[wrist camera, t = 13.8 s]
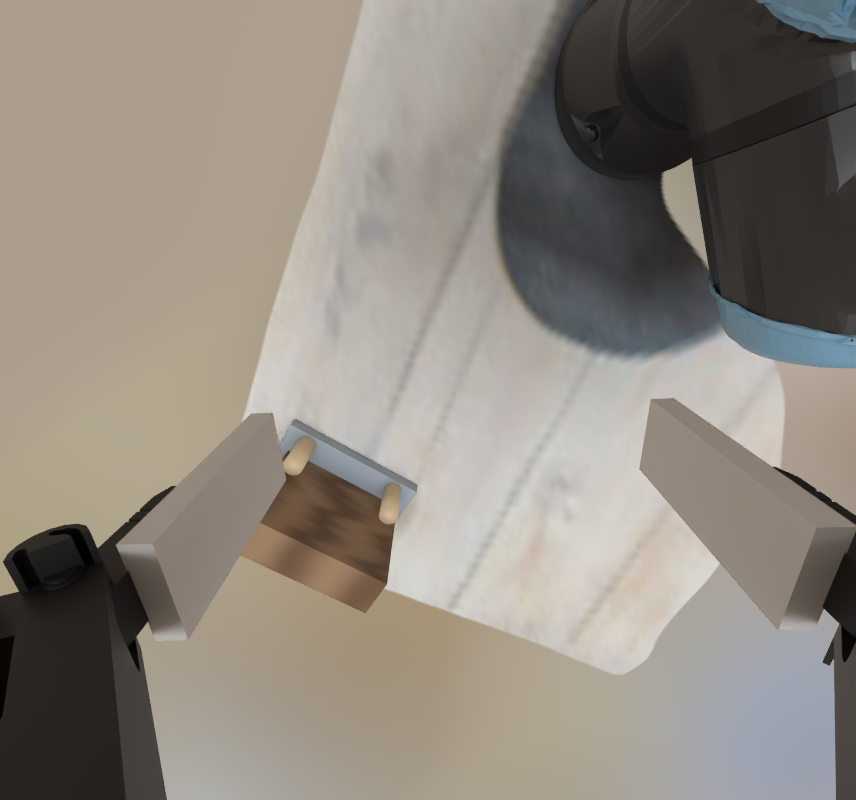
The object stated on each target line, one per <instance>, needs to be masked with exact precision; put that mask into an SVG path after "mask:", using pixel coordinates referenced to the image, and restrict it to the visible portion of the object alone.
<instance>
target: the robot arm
mask: <svg viewBox="0 0 856 800" xmlns="http://www.w3.org/2000/svg"><path fill="white" fill-rule="evenodd" d="M555 102H556V110H557V116H558V120H559V123H560V126H561V129H562V132H563V134H564V136H565V138H566V140H567V142H568V144H569V146H570V147H571V149H572V150H573V151H574V153H575V154H576V155H577V156H578V157H579V158H580V159H581V160H582V161H583V162H584V163H585V164H586V165H587V166H589V167H590V168H592V169H593V170H595V171H597V172H599V173H601V174H603V175H606V176H609V177H613V178H618V179H640V178H645V177H649V176H653V175H656V174H659V173H661V172H664V171H667V170H669V169H672V168H674V167H676V166H678V165H680V164H682V163H684V162H685V161H687V160H689V159H690V158H691V157H692V162H693V172H694V178H695V184H696V190H697V197H698V203H699V209H700V215H701V222H702V228H703V234H704V240H705V247H706V253H707V259H708V265H709V272H710V276H709V278H708V283H709V288H710V290H711V292H712V294H713V295H714V296H715V298H716V302H717V307H718V311H719V315H720V320H721V324H722V327H723V329H724V331H725V332H726V334H727V335H728V336H729V337H730V338H731V339H733V340H734V341H736V342H737V343H738V344H739V345H740V346H741V347H742V348H744V349H746V350H748V351H750V352H752V353H754V354H757V355H759V356H762V357H765V358H769V359H772V360H776V361H781V362H785V363H791V364H797V365H805V366H814V367H827V368H856V0H589V2H588V3H587V4H586V6H585V7H584V9H583V11H582V12H581V14H580V15H579V17H578V18H577V20H576V22H575V23H574V25H573V27H572V29H571V30H570V32H569V34H568V37H567V39H566V41H565V44H564V46H563V49H562V52H561V55H560V59H559V63H558V68H557V73H556V82H555ZM639 469H640V470H641V471H642V473H643V474H644V475H645V476H646V477H647V478H648V480H649V481H650V482H651V483H652V484H653V485H654V487H655V488H656V489H657V490H658V491H659V492H660V494H661V495H662V496H663V497H664V498H665V499H666V501H667V502H668V503H669V504H670V505H671V506H672V508H673V509H674V510H675V511H676V512H677V513H678V515H679V516H680V517H681V518H682V519H683V520H684V522H685V523H686V524H687V525H688V526H689V527H690V529H691V530H692V531H693V532H694V533H695V534H696V536H697V537H698V538H699V539H700V540H701V541H702V542H703V544H704V545H705V546H706V547H707V548H708V549H709V551H710V552H711V553H712V554H713V555H714V556H715V558H716V559H717V560H718V561H719V562H720V563H721V565H722V566H723V567H724V568H725V569H726V570H727V572H728V573H729V574H730V575H731V576H732V577H733V579H734V580H735V581H736V582H737V583H738V584H739V586H740V587H741V588H742V589H743V590H744V591H745V593H746V594H747V595H748V596H749V597H750V598H751V600H752V601H753V602H754V603H755V604H756V605H757V606H758V608H759V609H760V610H761V611H762V612H763V613H764V615H765V616H766V617H767V618H768V619H769V621H771V623H772V624H773V625H774V626H775V628H776V629H777V630H778V631H788V630H815V628H816V626H817V623H818V621H819V618H820V616H821V614H822V611H823V609H825V610H826V611H827V612H828V613H829V614H830V615H831V616H832V617H833V618H834V619H835V620H836V621H837V622H839V627H838V629H837V631H836V633H835V635H834V638H833V640H832V642H831V644H830V647H829V649H828V651H827V653H826V656H825V658H824V660H823V663H825V664H827V665H830V663H831V662H832V660H833V659H834V679H835V680H834V684H835V751H836V752H835V753H836V800H856V516H855V515H854V514H852V513H851V512H849V511H848V510H846V509H845V508H844V507H842V506H841V505H839V504H838V503H836V502H832V501H831V499H830V498H829V497H827V496H826V495H824V494H823V493H821V492H817V491H816V489H815V488H814V487H812V486H811V485H809V484H808V483H807V482H805V481H803V480H802V479H801V478H799V477H797V476H795V475H793V474H790V473H788V472H786V471H783V470H781V469H779V468H777V467H772V466H770V465H769V464H767V463H766V462H764V461H763V460H762V459H760V458H759V457H757V456H756V455H754V454H753V453H751V452H750V451H749V450H747V449H746V448H744V447H743V446H741V445H740V444H739V443H737V442H736V441H734V440H733V439H731V438H730V437H729V436H727V435H726V434H724V433H723V432H721V431H720V430H718V429H717V428H716V427H714V426H713V425H711V424H710V423H708V422H707V421H706V420H704V419H703V418H701V417H700V416H698V415H697V414H696V413H694V412H693V411H691V410H690V409H688V408H687V407H686V406H684V405H683V404H681V403H680V402H678V401H677V400H675V399H674V398H670V399H651V402H650V408H649V414H648V420H647V426H646V432H645V438H644V444H643V450H642V456H641V462H640V468H639ZM285 481H286V475H285V471H284V466H283V461H282V456H281V451H280V446H279V442H278V437H277V432H276V427H275V422H274V417H273V413H258V414H251V415H249V416H248V417H247V418H246V419H245V420H244V421H243V422H242V423H241V424H240V425H239V426H238V427H237V428H236V429H235V430H234V431H233V432H232V433H231V434H230V435H229V436H228V437H227V438H226V439H225V440H224V441H223V442H222V443H221V444H220V445H219V446H218V447H216V449H214V450H213V451H212V452H211V453H210V454H209V455H208V456H207V457H206V458H205V459H204V460H203V461H202V462H201V463H200V464H199V465H198V466H197V467H196V468H195V469H194V470H193V471H192V472H191V473H190V474H189V475H188V476H187V477H186V478H185V479H183V480H182V481H181V482H180V483H179V484H178V485H177V486H171V487H169V488H168V489H166V490H164V491H163V492H161V493H159V494H158V495H156V496H154V497H153V498H152V499H151V500H150V501H148V502H147V503H146V504H145V505H144V506H143V507H142V508H141V509H140V512H137V513H135V514H134V515H133V516H132V517H131V518H130V519H129V522H126V523H125V524H124V525H123V526H122V527H120V528H119V529H118V530H117V531H116V532H115V533H114V534H113V535H112V536H111V537H110V538H109V539H108V540H107V541H105V542H104V543H103V544H102V545H101V546H100V547H99V548H98V549H97V547H96V545H95V542H94V540H93V537H92V535H91V533H90V531H89V529H88V528H87V526H85V525H80V524H71V525H63V526H60V527H56V528H53V529H49V530H47V531H44V532H42V533H39V534H37V535H35V536H33V537H31V538H29V539H27V540H26V541H24V542H23V543H21V544H19V545H18V546H16V547H15V548H14V549H13V550H12V551H10V553H8V554H7V556H6V558H5V560H4V561H3V563H4V565H5V567H6V568H7V570H8V572H9V574H10V576H11V577H12V579H13V581H14V583H15V585H16V586H17V588H18V590H19V592H16V593H12V594H8V595H4V596H0V800H167V798H166V792H165V787H164V780H163V775H162V769H161V763H160V757H159V751H158V745H157V740H156V734H155V728H154V723H153V716H152V710H151V704H150V699H149V693H148V687H147V681H146V675H145V669H144V663H143V658H142V652H141V647H140V645H139V643H138V640H137V638H136V637H137V635H138V634H139V632H140V631H141V630H142V629H143V627H144V626H145V624H146V623H147V622H148V623H149V626H150V628H151V631H152V633H153V635H154V638H155V640H188V639H189V637H190V636H191V634H192V633H193V631H194V629H195V628H196V626H197V624H198V623H199V621H200V620H201V618H202V616H203V614H204V613H205V611H206V610H207V608H208V606H209V605H210V603H211V602H212V600H213V598H214V597H215V595H216V593H217V592H218V590H219V589H220V587H221V585H222V584H223V582H224V580H225V579H226V577H227V576H228V574H229V572H230V571H231V569H232V567H233V566H234V564H235V562H236V561H237V559H238V558H239V556H240V554H241V553H242V551H243V549H244V548H245V546H246V545H247V543H248V541H249V540H250V538H251V536H252V535H253V533H254V532H255V530H256V528H257V527H258V525H259V523H260V522H261V520H262V518H263V517H264V515H265V514H266V512H267V510H268V509H269V507H270V505H271V504H272V502H273V501H274V499H275V497H276V496H277V494H278V492H279V491H280V489H281V488H282V486H283V484H284V483H285Z"/></svg>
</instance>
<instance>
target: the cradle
mask: <svg viewBox="0 0 856 800" xmlns="http://www.w3.org/2000/svg"><path fill="white" fill-rule="evenodd" d="M288 450H289V451H290V453H289V455H288V456H287V458H286V459H285V460H284V462H283V466H284V471H285V472H286V473H287V474H289V475H298V474H300V473H301V472H302V470H303V468H304V467H305V465H306V463H307V462H308V461H310V462H312V463H313V464H315V465H317V466H319V467H321V468H323V469H325V470H327V471H329V472H331V473H333V474H335V475H336V476H338V477H340V478H342V479H344V480H346V481H348V482H350V483H352V484H354V485H356V486H358V487H359V488H361V489H363V490H365V491H367V492H369V493H371V494H373V495H375V496H377V497H379V498H381V499H382V502H381V507H380V512H379V519H380V520H381V521H382V522H383V523H385V524H393V523H395V522H396V521H397V519H398V518H399V516H400V515H401V514H402V512H403V511H404V509H405V508H406V507H407V505H408V504H409V502H410V501H411V499H412V498H413V497H414V495H415V494H416V492H417V485H415V484H413V483H412V482H410V481H408V480H406V479H404V478H402V477H401V476H399V475H397V474H395V473H393V472H391V471H389V470H388V469H386V468H384V467H382V466H380V465H378V464H377V463H375V462H373V461H371V460H369V459H367V458H365V457H364V456H362V455H360V454H358V453H356V452H354V451H352V450H351V449H349V448H347V447H345V446H343V445H341V444H340V443H338V442H336V441H334V440H332V439H330V438H328V437H327V436H325V435H323V434H321V433H319V432H317V431H316V430H314V429H312V428H310V427H308V426H306V425H304V424H303V423H301V422H299V421H297V420H295V421H294V422H293V423H292V424H291V426H290V428H289V430H288V432H287V433H286V435H285V437H284V439H283V441H282V442H281V444H280V451H281V456H282V458H283V457H284V456H285V454H286V453H287V452H288Z"/></svg>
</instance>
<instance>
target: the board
mask: <svg viewBox="0 0 856 800" xmlns="http://www.w3.org/2000/svg"><path fill="white" fill-rule="evenodd" d="M289 453H290V451H289V450H288V452H287V453H286V454H285V456H284V457H283V458H282V461H283V462H284V460H285V459H286V458H287V456H288V455H289ZM285 475H286V481H285V483H284V484H283V486H282V488H281V489H280V491H279V492H278V494H277V496H276V497H275V499H274V501H273V502H272V504H271V505H270V507H269V509H268V510H267V512H266V514H265V515H264V517H263V518H262V520H261V522H260V523H259V525H258V527H257V528H256V530H255V532H254V533H253V535H252V536H251V538H250V540H249V541H248V543H247V545H246V546H245V548H244V549H243V551H242V553H241V554H240V555H241V556H243V557H245V558H248V559H250V560H252V561H254V562H256V563H258V564H260V565H263V566H265V567H267V568H269V569H271V570H273V571H276V572H278V573H280V574H282V575H284V576H286V577H289V578H291V579H293V580H295V581H297V582H299V583H302V584H304V585H306V586H308V587H310V588H312V589H314V590H317V591H319V592H321V593H323V594H325V595H327V596H330V597H332V598H334V599H336V600H338V601H341V602H343V603H345V604H347V605H349V606H352V607H353V608H356V609H358V610H360V611H362V612H364V613H366V612H367V610H368V609H369V608H370V606H371V605H372V603H373V602H374V601H375V600H376V598H377V597H378V596H379V594H380V593H381V591H382V590H383V589H384V587H385V586H386V585H387V580H388V572H389V564H390V556H391V548H392V541H393V533H394V525H395V523H393V524H385V523H383V522H382V521H381V520H380V519H379V512H380V507H381V502H382V499H381V498H379V497H377V496H375V495H373V494H371V493H369V492H367V491H365V490H363V489H361V488H359V487H358V486H356V485H354V484H352V483H350V482H348V481H346V480H344V479H342V478H340V477H338V476H336V475H335V474H333V473H331V472H329V471H327V470H325V469H323V468H321V467H319V466H317V465H315V464H313V463H312V462H310V461H308V462H307V463H306V465H305V467H304V468H303V470H302V472H301V473H300V474H298V475H289V474H287V473H286V472H285Z"/></svg>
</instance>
